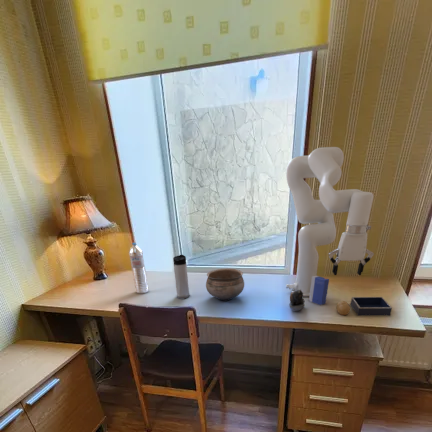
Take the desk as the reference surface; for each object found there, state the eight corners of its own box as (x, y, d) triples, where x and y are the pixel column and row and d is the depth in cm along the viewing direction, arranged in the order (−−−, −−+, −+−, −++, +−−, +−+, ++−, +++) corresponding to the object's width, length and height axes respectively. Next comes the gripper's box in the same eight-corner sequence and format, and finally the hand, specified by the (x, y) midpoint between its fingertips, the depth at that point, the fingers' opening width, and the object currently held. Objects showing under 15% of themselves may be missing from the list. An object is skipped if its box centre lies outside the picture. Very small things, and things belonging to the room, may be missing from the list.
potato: (337, 315, 141) (341, 304, 138) (333, 308, 148) (337, 298, 145) (348, 318, 141) (353, 307, 139) (344, 310, 148) (348, 300, 145)
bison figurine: (288, 303, 156) (290, 282, 150) (303, 304, 155) (306, 282, 149) (288, 313, 146) (290, 291, 141) (305, 314, 145) (307, 291, 140)
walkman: (325, 304, 154) (329, 278, 147) (321, 305, 153) (324, 279, 146) (313, 299, 160) (316, 274, 153) (308, 300, 159) (311, 275, 152)
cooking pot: (235, 309, 154) (235, 283, 147) (198, 305, 160) (196, 280, 153) (250, 291, 173) (250, 267, 166) (216, 288, 179) (215, 265, 172)
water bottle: (151, 290, 181) (143, 241, 166) (144, 294, 176) (135, 244, 161) (141, 289, 183) (132, 241, 169) (133, 293, 178) (124, 244, 164)
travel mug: (191, 294, 172) (188, 254, 161) (186, 299, 167) (182, 258, 156) (180, 293, 174) (176, 254, 163) (175, 298, 169) (170, 257, 158)
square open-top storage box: (357, 316, 141) (359, 307, 139) (350, 305, 152) (351, 297, 150) (389, 316, 140) (392, 307, 138) (380, 304, 151) (382, 296, 149)
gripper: (376, 226, 128) (365, 271, 138) (330, 227, 130) (323, 271, 140) (382, 231, 122) (371, 277, 132) (334, 231, 124) (326, 277, 134)
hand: (346, 274), depth 136 cm, fingers open, 9 cm apart
